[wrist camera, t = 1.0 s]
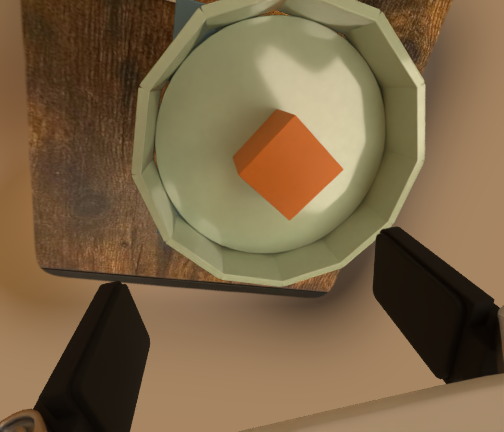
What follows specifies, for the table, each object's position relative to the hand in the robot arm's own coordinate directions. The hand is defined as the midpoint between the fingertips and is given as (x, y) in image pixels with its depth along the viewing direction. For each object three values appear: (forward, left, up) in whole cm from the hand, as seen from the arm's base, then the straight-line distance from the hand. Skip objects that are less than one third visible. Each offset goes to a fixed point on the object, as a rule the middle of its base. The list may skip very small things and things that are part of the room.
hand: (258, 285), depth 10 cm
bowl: (-4, 0, -10) cm, 11 cm away
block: (-4, 0, -9) cm, 10 cm away
